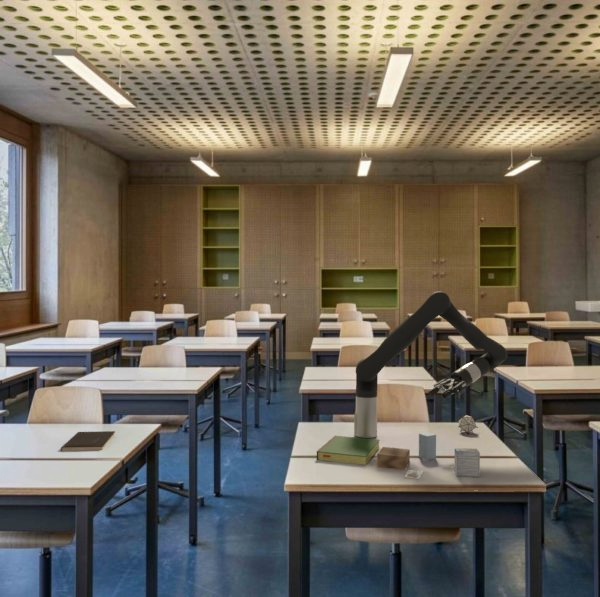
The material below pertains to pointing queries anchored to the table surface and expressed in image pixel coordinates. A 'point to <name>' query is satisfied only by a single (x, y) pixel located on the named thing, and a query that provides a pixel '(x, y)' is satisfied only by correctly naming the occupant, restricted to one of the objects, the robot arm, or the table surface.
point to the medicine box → (467, 462)
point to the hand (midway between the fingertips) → (435, 395)
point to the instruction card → (413, 474)
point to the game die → (467, 423)
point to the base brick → (393, 458)
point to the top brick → (427, 446)
